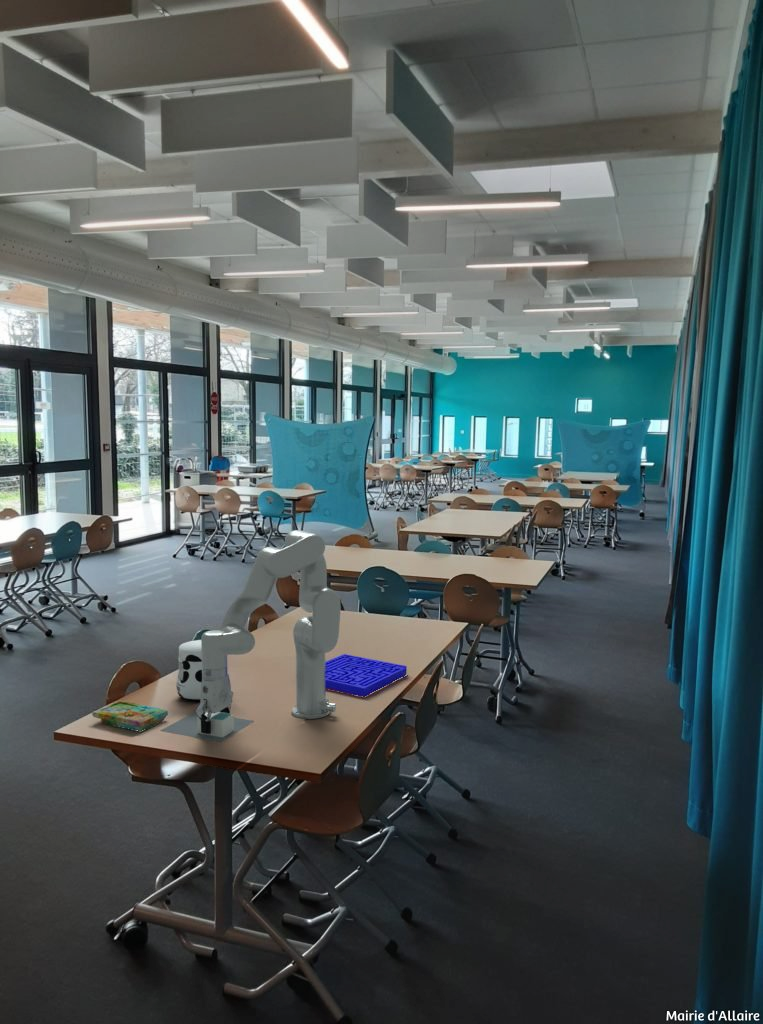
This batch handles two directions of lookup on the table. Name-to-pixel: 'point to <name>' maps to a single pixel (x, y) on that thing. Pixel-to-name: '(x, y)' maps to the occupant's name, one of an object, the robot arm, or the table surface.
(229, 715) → the card box
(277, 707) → the table surface
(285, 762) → the table surface
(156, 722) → the puzzle game
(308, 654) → the robot arm
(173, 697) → the table surface
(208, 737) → the mat
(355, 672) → the maze
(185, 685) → the milk container
